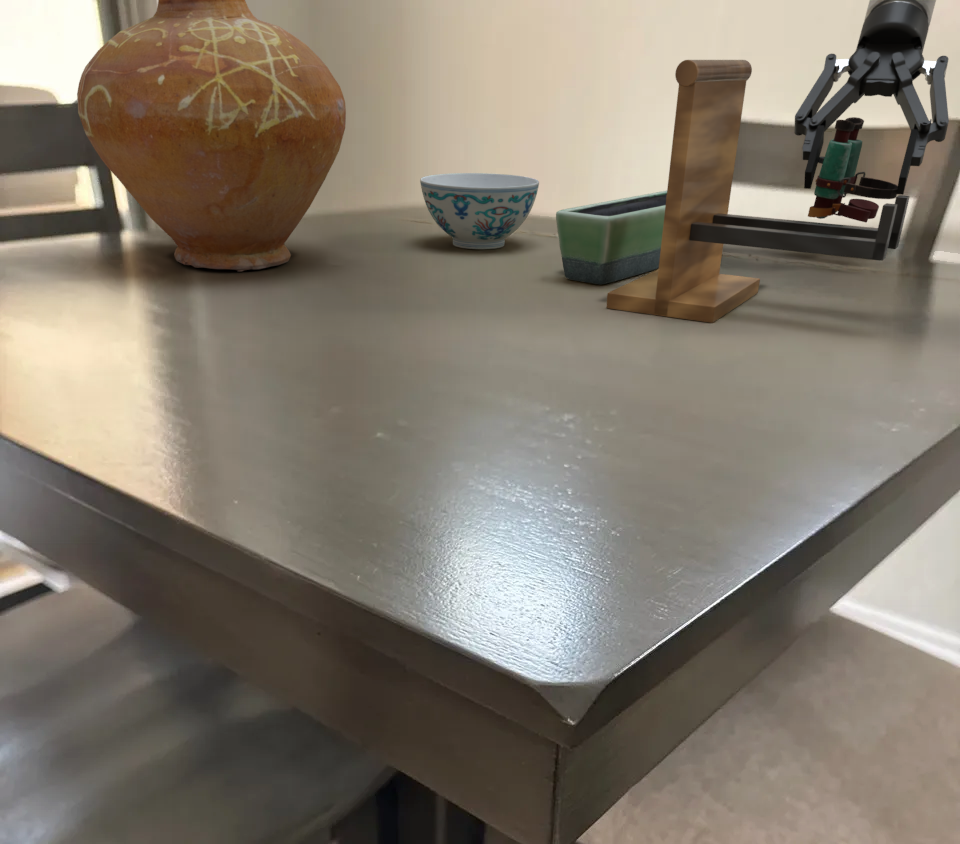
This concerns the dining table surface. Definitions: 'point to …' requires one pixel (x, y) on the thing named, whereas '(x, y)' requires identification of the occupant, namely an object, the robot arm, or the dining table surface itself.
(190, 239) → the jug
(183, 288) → the dining table surface
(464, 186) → the chinaware
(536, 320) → the dining table surface
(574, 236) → the planter
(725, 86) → the hook rack
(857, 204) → the binoculars
